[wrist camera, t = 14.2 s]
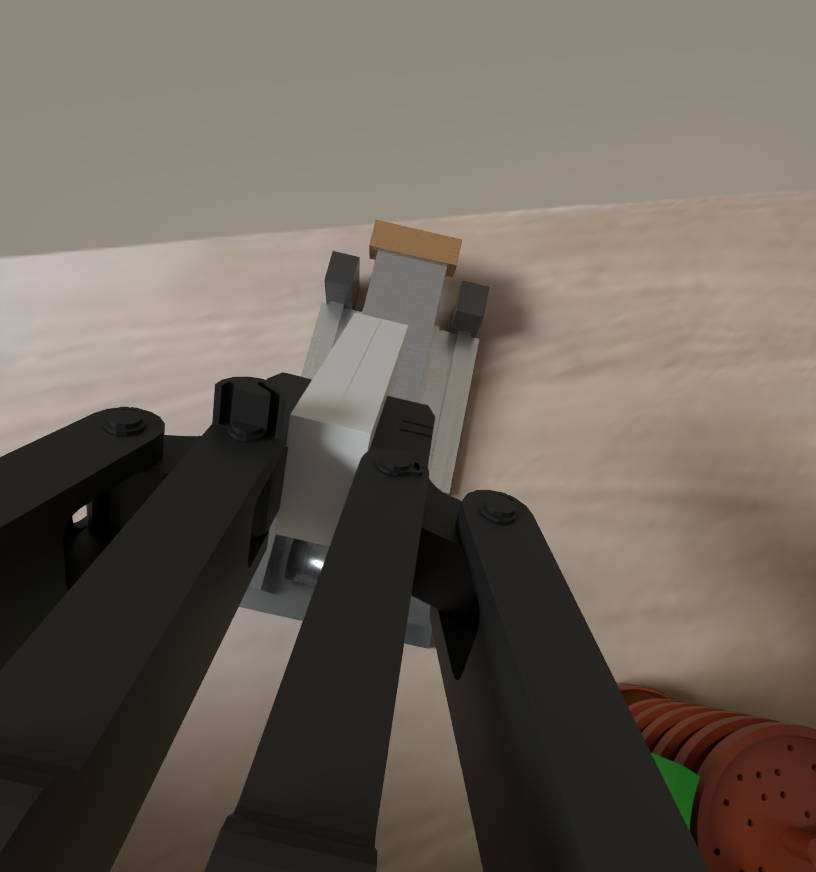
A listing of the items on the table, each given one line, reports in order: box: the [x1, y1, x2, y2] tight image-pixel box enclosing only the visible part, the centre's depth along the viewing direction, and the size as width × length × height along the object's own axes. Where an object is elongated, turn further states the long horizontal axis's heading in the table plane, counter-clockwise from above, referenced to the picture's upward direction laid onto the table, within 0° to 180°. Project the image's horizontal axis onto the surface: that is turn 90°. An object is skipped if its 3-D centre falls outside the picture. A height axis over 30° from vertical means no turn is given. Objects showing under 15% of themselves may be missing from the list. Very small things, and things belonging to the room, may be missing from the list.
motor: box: [617, 684, 816, 872], centre depth 24 cm, size 10×9×20 cm
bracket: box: [239, 251, 489, 649], centre depth 35 cm, size 11×20×5 cm, turn 168°
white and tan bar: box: [285, 220, 462, 586], centre depth 34 cm, size 5×2×20 cm
